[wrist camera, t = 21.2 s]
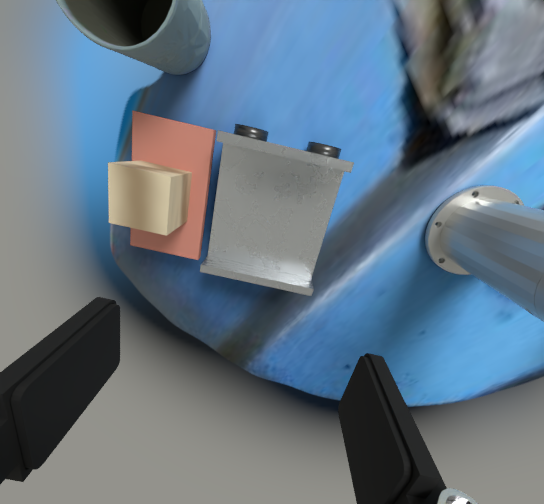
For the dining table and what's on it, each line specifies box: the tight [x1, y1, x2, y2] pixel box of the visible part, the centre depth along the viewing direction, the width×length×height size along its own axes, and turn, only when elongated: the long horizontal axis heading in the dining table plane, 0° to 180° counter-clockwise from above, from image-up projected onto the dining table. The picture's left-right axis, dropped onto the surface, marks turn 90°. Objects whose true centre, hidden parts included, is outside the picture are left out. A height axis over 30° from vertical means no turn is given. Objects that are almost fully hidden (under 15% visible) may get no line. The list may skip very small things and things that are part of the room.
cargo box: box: [108, 161, 192, 236], centre depth 28 cm, size 6×6×6 cm
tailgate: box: [130, 111, 216, 260], centre depth 32 cm, size 1×16×9 cm
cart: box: [200, 124, 354, 296], centre depth 33 cm, size 14×18×8 cm
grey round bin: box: [56, 0, 211, 75], centre depth 24 cm, size 10×10×12 cm
